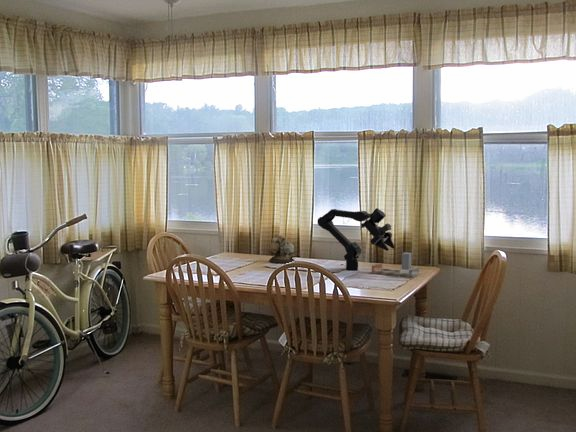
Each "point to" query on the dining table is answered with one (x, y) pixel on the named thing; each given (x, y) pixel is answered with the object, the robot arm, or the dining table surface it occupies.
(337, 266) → the dining table surface
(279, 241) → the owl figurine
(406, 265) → the carriage
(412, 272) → the track
